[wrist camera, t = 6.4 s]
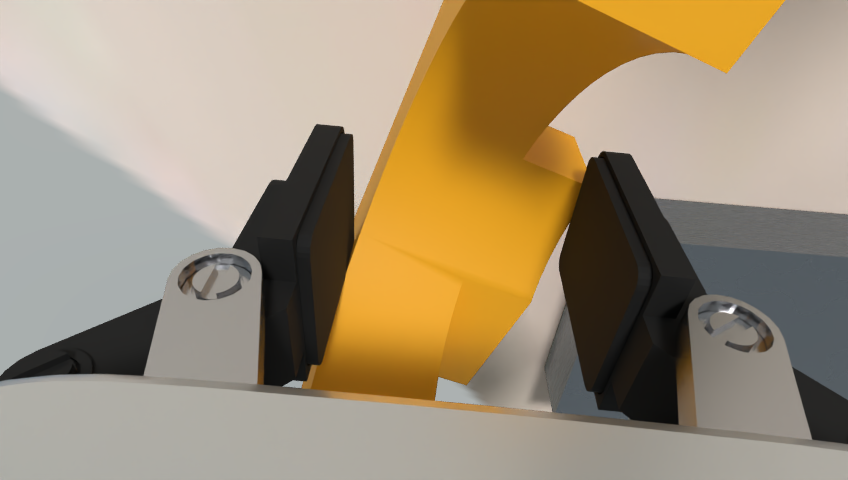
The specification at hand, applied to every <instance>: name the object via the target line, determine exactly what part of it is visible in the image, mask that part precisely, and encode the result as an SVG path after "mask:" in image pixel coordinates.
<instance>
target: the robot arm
mask: <svg viewBox="0 0 848 480" xmlns="http://www.w3.org/2000/svg"><path fill="white" fill-rule="evenodd" d="M353 244H354V155H353V135H352V134H344V128H343V127H341V126H330V125H320V124H316V126H315V127H314V129H313V131H312V133H311V135H310V137H309V139H308V141H307V142H306V144H305V146H304V148H303V150H302V152H301V154H300V156H299V158H298V160H297V161H296V163H295V165H294V167H293V169H292V171H291V173H290V175H289V177H288V179H287V180H286V181H282V180H272V181H271V182H270V183H269V185H268V187H267V188H266V190H265V192H264V194H263V195H262V197H261V199H260V201H259V202H258V204H257V206H256V208H255V209H254V211H253V213H252V214H251V216H250V218H249V220H248V221H247V223H246V225H245V227H244V228H243V230H242V232H241V234H240V235H239V237H238V239H237V241H236V242H235V244H234V246H233V248H216V249H209V250H205V251H201V252H199V253H196V254H193V255H191V256H189V257H188V258H186V259H184V260H183V261H181V262H180V263H179V264H178V265H177V266H176V267H175V268H174V269H173V270H172V271H171V273H170V275H169V277H168V279H167V283H166V287H165V291H164V296H163V299H161V300H158V301H156V302H154V303H151V304H149V305H146V306H144V307H142V308H139V309H137V310H134V311H132V312H129V313H127V314H125V315H122V316H120V317H117V318H115V319H113V320H110V321H108V322H105V323H103V324H101V325H98V326H96V327H93V328H91V329H88V330H86V331H83V332H81V333H79V334H76V335H74V336H71V337H69V338H67V339H64V340H62V341H59V342H57V343H55V344H52V345H50V346H47V347H45V348H42V349H40V350H38V351H36V352H34V353H32V354H30V355H28V356H26V357H24V358H22V359H20V360H19V361H17V362H16V363H15V364H13V365H12V366H11V367H9V369H7V370H5V371H4V373H3V374H2V375H1V376H0V480H848V400H847V399H845V398H844V397H842V396H840V395H839V394H837V393H835V392H834V391H832V390H830V389H829V388H827V387H825V386H824V385H822V384H820V383H819V382H817V381H815V380H814V379H812V378H810V377H809V376H807V375H805V374H804V373H802V372H800V371H799V370H797V369H795V368H794V367H792V365H791V362H790V358H789V355H788V351H787V348H786V344H785V340H784V338H783V336H782V334H781V332H780V330H779V328H778V327H777V326H776V325H775V324H774V322H773V321H772V320H771V319H770V318H769V317H767V316H766V315H765V314H763V313H762V312H761V311H760V310H758V309H756V308H755V307H753V306H751V305H749V304H747V303H745V302H743V301H740V300H737V299H734V298H732V297H728V296H722V295H707V293H706V291H705V289H704V287H703V286H702V284H701V282H700V280H699V278H698V276H697V274H696V273H695V271H694V269H693V267H692V265H691V263H690V261H689V259H688V258H687V256H686V254H685V252H684V250H683V248H682V246H681V245H680V243H679V241H678V239H677V237H676V235H675V233H674V231H673V230H672V228H671V226H670V224H669V222H668V221H667V220H666V219H665V218H664V216H663V214H662V212H661V210H660V208H659V206H658V205H657V203H656V201H655V199H654V197H653V195H652V193H651V191H650V190H649V188H648V186H647V184H646V182H645V180H644V178H643V176H642V174H641V173H640V171H639V169H638V167H637V165H636V163H635V161H634V159H633V158H632V156H631V155H630V154H626V153H615V152H605V151H602V152H601V153H600V155H599V156H598V158H596V157H592V158H590V160H589V162H588V165H587V168H586V172H585V175H584V178H583V181H582V185H581V188H580V191H579V195H578V198H577V201H576V205H575V208H574V211H573V215H572V218H571V221H570V224H569V228H568V231H567V234H566V238H565V241H564V244H563V248H562V251H561V254H560V259H559V271H560V276H561V281H562V285H563V290H564V294H565V299H566V303H567V308H568V312H569V317H570V322H571V326H572V331H573V335H574V340H575V344H576V349H577V353H578V358H579V362H580V367H581V372H582V376H583V381H584V385H585V388H586V390H587V391H588V392H594V395H595V399H596V403H597V407H598V410H605V411H615V412H622V413H623V414H624V415H626V416H627V417H628V420H625V419H615V418H605V417H596V416H586V415H576V414H565V413H555V412H545V411H535V410H525V409H514V408H504V407H494V406H484V405H473V404H463V403H453V402H442V401H432V400H422V399H411V398H401V397H390V396H379V395H368V394H357V393H347V392H336V391H325V390H314V389H303V388H292V387H282V386H284V385H285V384H287V383H289V382H290V381H292V380H296V381H307V380H308V376H309V373H310V369H311V366H312V365H321V363H322V361H323V357H324V354H325V350H326V346H327V343H328V339H329V335H330V332H331V328H332V324H333V321H334V317H335V313H336V310H337V306H338V302H339V299H340V295H341V292H342V288H343V284H344V281H345V276H346V272H347V268H348V264H349V260H350V256H351V252H352V248H353Z"/></svg>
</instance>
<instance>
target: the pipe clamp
mask: <svg viewBox="0 0 848 480" xmlns="http://www.w3.org/2000/svg"><path fill="white" fill-rule="evenodd" d="M784 1H785V0H444V1H443V3H442V6H441V8H440V10H439V13H438V15H437V18H436V20H435V23H434V25H433V28H432V30H431V32H430V35H429V37H428V40H427V42H426V45H425V47H424V49H423V52H422V54H421V57H420V59H419V62H418V64H417V66H416V69H415V71H414V74H413V76H412V79H411V81H410V84H409V86H408V88H407V91H406V93H405V96H404V98H403V101H402V103H401V105H400V108H399V110H398V113H397V115H396V118H395V120H394V123H393V125H392V127H391V130H390V132H389V135H388V137H387V140H386V142H385V144H384V147H383V149H382V152H381V154H380V157H379V159H378V162H377V164H376V166H375V169H374V171H373V174H372V176H371V179H370V181H369V183H368V186H367V188H366V191H365V193H364V196H363V198H362V201H361V203H360V205H359V208H358V210H357V213H356V215H355V218H354V244H353V248H352V252H351V256H350V260H349V264H348V268H347V272H346V276H345V281H344V284H343V288H342V292H341V295H340V299H339V302H338V306H337V310H336V313H335V317H334V321H333V324H332V328H331V332H330V335H329V339H328V343H327V346H326V350H325V354H324V357H323V361H322V363H321V365H312V366H311V369H310V373H309V376H308V380H307V381H303V385H302V388H303V389H314V390H325V391H336V392H347V393H357V394H368V395H379V396H390V397H401V398H411V399H422V400H432V401H435V395H436V388H437V381H438V377H441V378H444V379H447V380H451V381H454V382H457V383H461V384H464V385H467V384H468V383H469V381H470V380H471V379H472V377H473V376H474V375H475V374H476V372H477V371H478V370H479V368H480V367H481V366H482V365H483V363H484V362H485V361H486V359H487V358H488V357H489V356H490V354H491V353H492V352H493V350H494V349H495V348H496V347H497V345H498V344H499V343H500V341H501V340H502V339H503V338H504V336H505V335H506V334H507V332H508V331H509V330H510V329H511V327H512V326H513V325H514V323H515V322H516V321H517V320H518V318H519V317H520V316H521V314H522V313H523V312H524V311H525V309H526V308H527V307H528V305H529V304H530V303H531V301H532V298H533V295H534V292H535V290H536V287H537V285H538V283H539V280H540V278H541V275H542V273H543V271H544V269H545V267H546V264H547V262H548V260H549V258H550V256H551V254H552V252H553V250H554V248H555V247H556V245H557V243H558V241H559V239H560V238H561V236H562V234H563V233H564V231H565V229H566V227H567V226H568V224H569V223H570V221H571V218H572V215H573V211H574V208H575V205H576V201H577V198H578V195H579V191H580V188H581V185H582V181H583V178H584V175H585V172H586V166H585V163H584V161H583V158H582V156H581V153H580V150H579V148H578V145H577V143H576V140H575V138H574V137H573V136H571V135H568V134H566V133H563V132H561V131H559V130H556V129H554V128H552V127H549V126H548V125H549V124H550V123H551V122H552V121H553V119H554V118H555V117H556V116H557V115H558V114H559V113H560V112H561V111H562V110H563V109H564V108H565V107H566V106H567V105H568V104H569V103H570V102H571V101H572V100H573V99H574V98H575V97H576V96H577V95H578V94H579V93H581V92H582V91H583V90H584V89H585V88H587V87H588V86H589V85H590V84H592V83H593V82H594V81H596V80H597V79H599V78H600V77H602V76H603V75H604V74H606V73H608V72H609V71H611V70H613V69H615V68H616V67H618V66H620V65H622V64H624V63H627V62H629V61H631V60H634V59H636V58H639V57H643V56H647V55H651V54H655V53H667V52H677V53H684V54H688V55H690V56H692V57H694V58H696V59H698V60H700V61H702V62H704V63H706V64H708V65H711V66H713V67H715V68H717V69H719V70H721V71H723V72H725V73H727V72H728V71H729V70H730V69H731V67H732V66H733V65H734V64H735V62H736V61H737V60H738V59H739V57H740V56H741V55H742V54H743V52H744V51H745V50H746V49H747V47H748V46H749V45H750V44H751V42H752V41H753V40H754V39H755V37H756V36H757V35H758V34H759V32H760V31H761V30H762V29H763V27H764V26H765V25H766V24H767V22H768V21H769V20H770V19H771V17H772V16H773V15H774V14H775V12H776V11H777V10H778V9H779V7H780V6H781V5H782V4H783V2H784Z"/></svg>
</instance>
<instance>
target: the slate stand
mask: <svg viewBox="0 0 848 480" xmlns="http://www.w3.org/2000/svg"><path fill="white" fill-rule="evenodd" d="M654 199H655V198H654ZM655 201H656V203H657V205H658V206H659V208H660V210H661V212H662V214H663V216H664V218H665V219H666V220H667V221H668V222H669V224H670V226H671V228H672V230H673V231H674V233H675V235H676V237H677V239H678V241H679V243H680V245H681V246H682V248H683V250H684V252H685V254H686V256H687V258H688V259H689V261H690V263H691V265H692V267H693V269H694V271H695V273H696V274H697V276H698V278H699V280H700V282H701V284H702V286H703V287H704V289H705V291H706V293H707V295H722V296H728V297H732V298H734V299H737V300H740V301H743V302H745V303H747V304H749V305H751V306H753V307H755V308H756V309H758V310H760V311H761V312H762V313H763V314H765V315H766V316H767V317H769V318H770V319H771V320H772V321H773V322H774V324H775V325H776V326H777V327H778V328H779V330H780V332H781V334H782V336H783V338H784V340H785V344H786V348H787V351H788V355H789V358H790V362H791V365H792V367H794V368H795V369H797V370H799V371H800V372H802V373H804V374H805V375H807V376H809V377H810V378H812V379H814V380H815V381H817V382H819V383H820V384H822V385H824V386H825V387H827V388H829V389H830V390H832V391H834V392H835V393H837V394H839V395H840V396H842V397H844V398H845V399H847V400H848V215H846V214H834V213H822V212H810V211H798V210H786V209H774V208H762V207H750V206H738V205H726V204H714V203H702V202H690V201H678V200H666V199H655ZM545 373H546V378H547V384H548V389H549V395H550V401H551V406H552V412H555V413H565V414H576V415H586V416H596V417H605V418H615V419H625V420H628V417H627V416H626V415H624V414H623V413H622V412H615V411H605V410H598V407H597V403H596V399H595V395H594V392H588V391H587V390H586V388H585V385H584V381H583V376H582V372H581V367H580V362H579V358H578V353H577V349H576V344H575V340H574V335H573V331H572V326H571V322H570V317H569V312H568V308H567V303H566V305H565V308H564V311H563V314H562V317H561V320H560V323H559V326H558V329H557V332H556V335H555V338H554V341H553V344H552V347H551V350H550V353H549V356H548V359H547V362H546V365H545Z"/></svg>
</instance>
